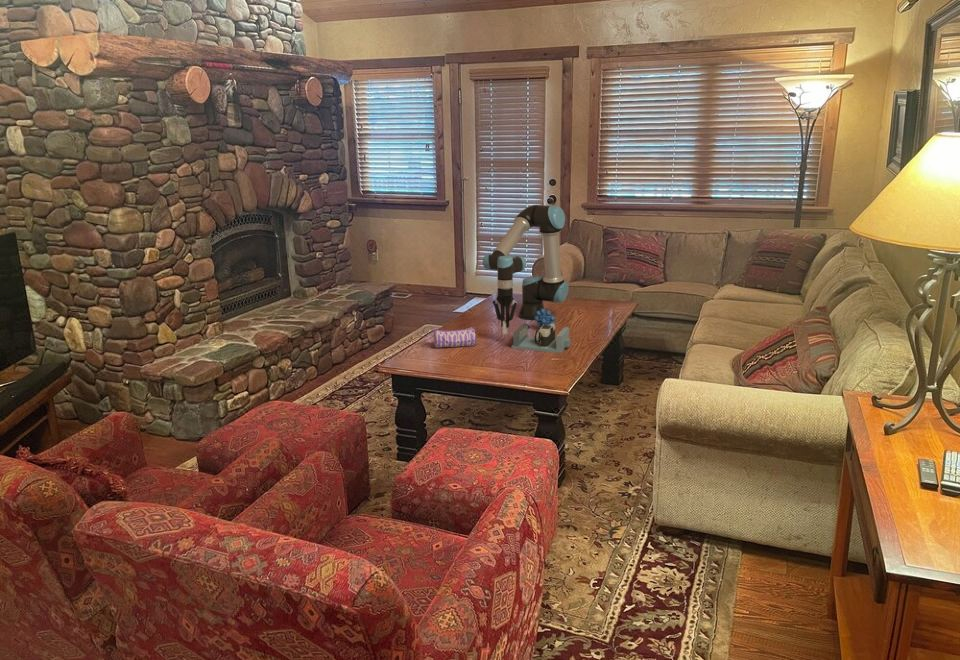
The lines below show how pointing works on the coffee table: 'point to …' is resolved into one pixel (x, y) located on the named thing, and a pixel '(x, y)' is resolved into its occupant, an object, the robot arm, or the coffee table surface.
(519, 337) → the sliding jaw
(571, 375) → the coffee table surface
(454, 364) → the coffee table surface
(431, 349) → the coffee table surface
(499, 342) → the coffee table surface
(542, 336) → the camera
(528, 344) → the vise
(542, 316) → the blue knobbly thick disc
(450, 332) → the pencil case
